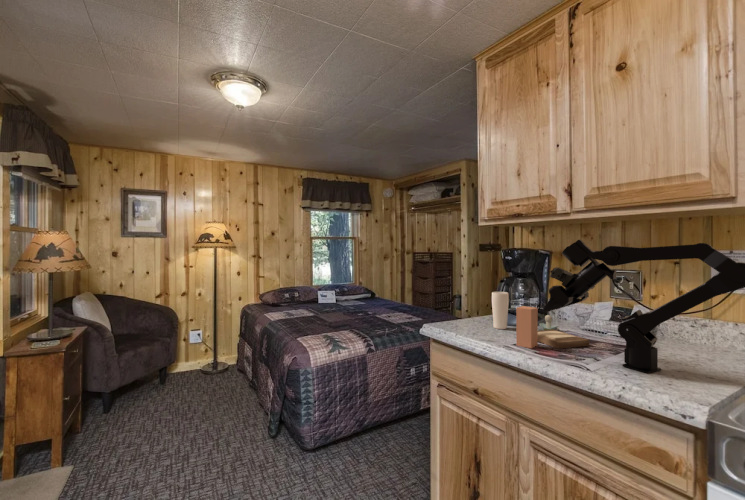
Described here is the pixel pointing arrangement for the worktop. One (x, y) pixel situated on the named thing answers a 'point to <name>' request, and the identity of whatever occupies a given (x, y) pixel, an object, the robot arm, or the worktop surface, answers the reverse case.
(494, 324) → the drinking glass
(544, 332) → the wooden board
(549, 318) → the pacifier
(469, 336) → the worktop surface
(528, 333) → the terracotta tower brick
